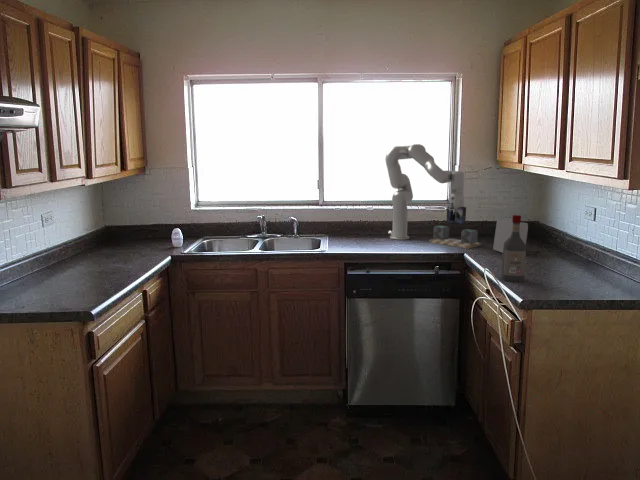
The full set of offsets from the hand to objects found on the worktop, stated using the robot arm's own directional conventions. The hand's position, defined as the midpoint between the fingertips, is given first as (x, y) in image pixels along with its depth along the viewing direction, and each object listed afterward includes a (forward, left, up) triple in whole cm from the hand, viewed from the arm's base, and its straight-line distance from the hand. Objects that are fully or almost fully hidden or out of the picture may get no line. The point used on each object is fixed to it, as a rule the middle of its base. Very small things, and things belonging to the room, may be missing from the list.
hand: (455, 219), depth 339 cm
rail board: (0, 0, -15) cm, 15 cm away
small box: (0, 0, -3) cm, 3 cm away
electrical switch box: (+36, +3, -15) cm, 39 cm away
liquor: (+67, -59, -15) cm, 90 cm away
